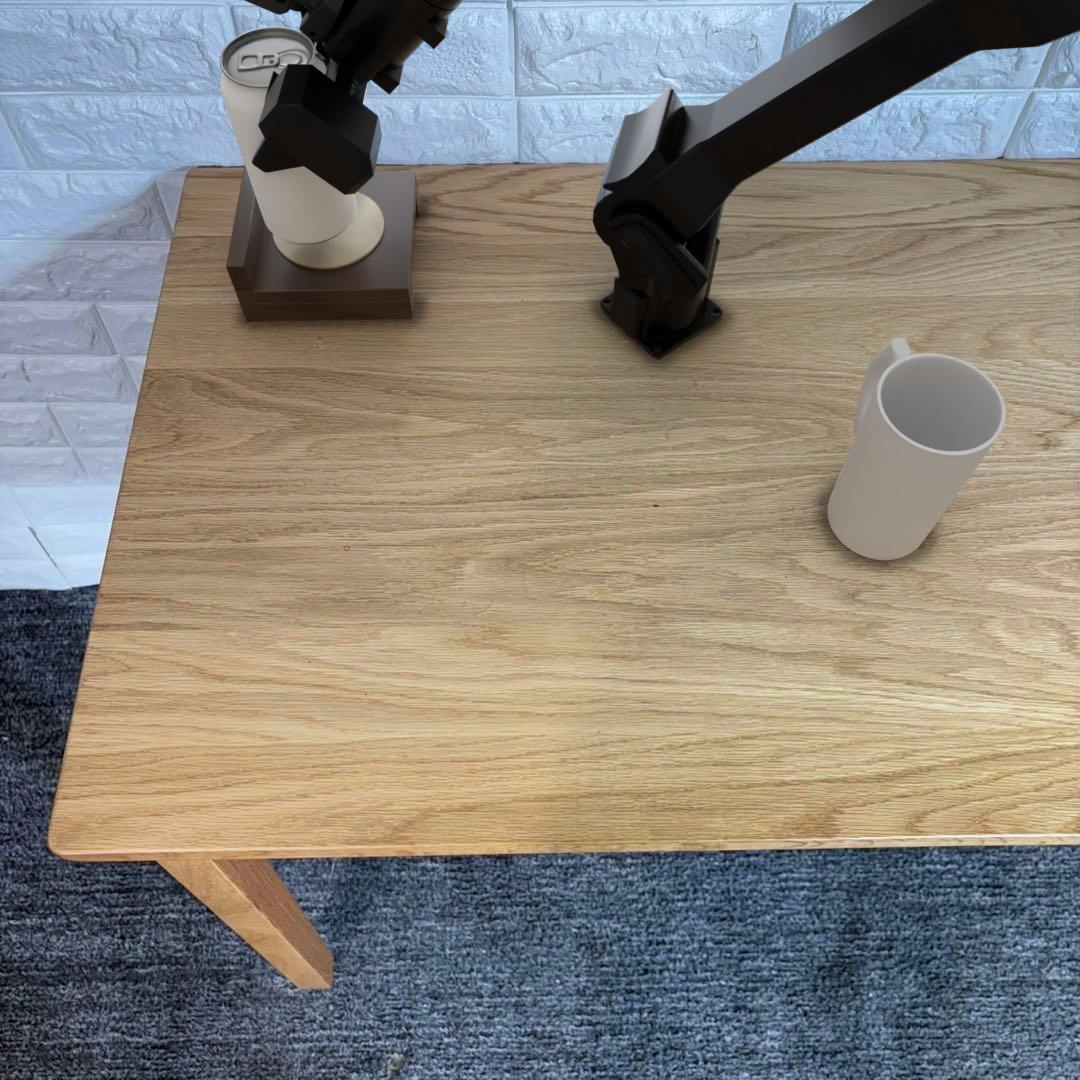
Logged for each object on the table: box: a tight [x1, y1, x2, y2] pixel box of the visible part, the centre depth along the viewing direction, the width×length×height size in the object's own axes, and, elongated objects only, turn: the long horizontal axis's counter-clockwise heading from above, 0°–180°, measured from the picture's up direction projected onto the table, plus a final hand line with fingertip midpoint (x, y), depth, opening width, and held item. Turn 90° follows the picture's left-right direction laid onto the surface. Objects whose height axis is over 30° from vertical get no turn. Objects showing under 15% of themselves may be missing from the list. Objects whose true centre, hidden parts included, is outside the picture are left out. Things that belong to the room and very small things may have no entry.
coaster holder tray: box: [225, 165, 421, 322], centre depth 72 cm, size 12×12×5 cm
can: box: [219, 26, 357, 245], centre depth 64 cm, size 6×6×12 cm
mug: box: [826, 337, 1007, 561], centre depth 59 cm, size 10×7×12 cm, turn 10°
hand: (268, 132), depth 63 cm, fingers closed on can, 6 cm apart
